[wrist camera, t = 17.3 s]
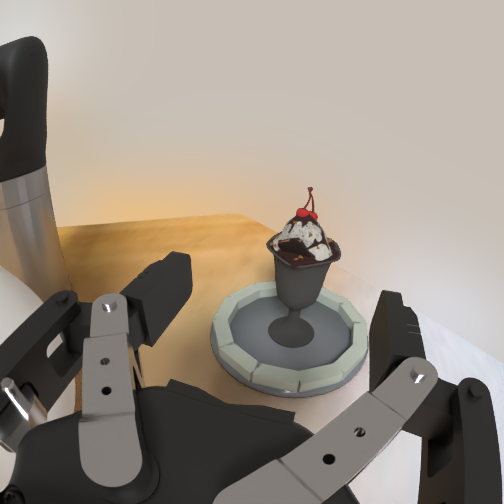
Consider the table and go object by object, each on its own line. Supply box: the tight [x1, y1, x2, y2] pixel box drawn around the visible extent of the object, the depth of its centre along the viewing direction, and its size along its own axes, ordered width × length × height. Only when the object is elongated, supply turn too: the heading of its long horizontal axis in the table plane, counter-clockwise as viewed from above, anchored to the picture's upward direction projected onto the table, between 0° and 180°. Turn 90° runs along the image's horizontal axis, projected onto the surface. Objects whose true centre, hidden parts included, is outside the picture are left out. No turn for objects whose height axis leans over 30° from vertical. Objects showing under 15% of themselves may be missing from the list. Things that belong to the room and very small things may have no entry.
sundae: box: [266, 187, 341, 348], centre depth 28 cm, size 7×7×15 cm
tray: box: [210, 281, 369, 398], centre depth 32 cm, size 17×17×2 cm
